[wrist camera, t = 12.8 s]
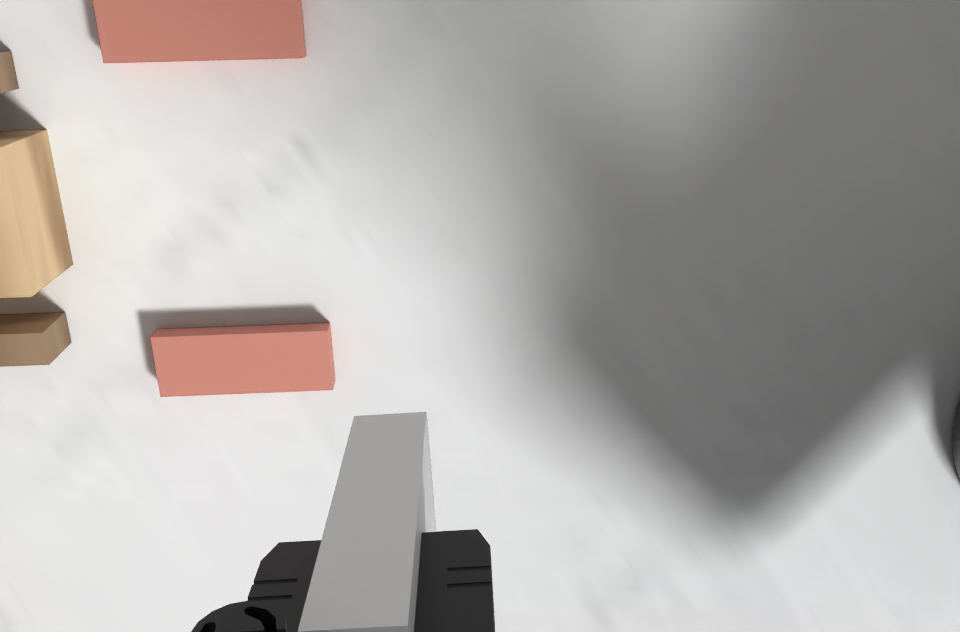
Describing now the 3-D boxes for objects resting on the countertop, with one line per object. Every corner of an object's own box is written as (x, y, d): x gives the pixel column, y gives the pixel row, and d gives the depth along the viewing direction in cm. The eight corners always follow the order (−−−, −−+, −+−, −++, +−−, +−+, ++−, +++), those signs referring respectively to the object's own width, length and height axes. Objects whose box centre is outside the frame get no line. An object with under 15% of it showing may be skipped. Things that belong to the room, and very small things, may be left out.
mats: (299, -21, 35) (295, -21, 34) (335, 380, 42) (332, 389, 41) (99, -17, 35) (89, -17, 34) (166, 387, 42) (160, 396, 41)
